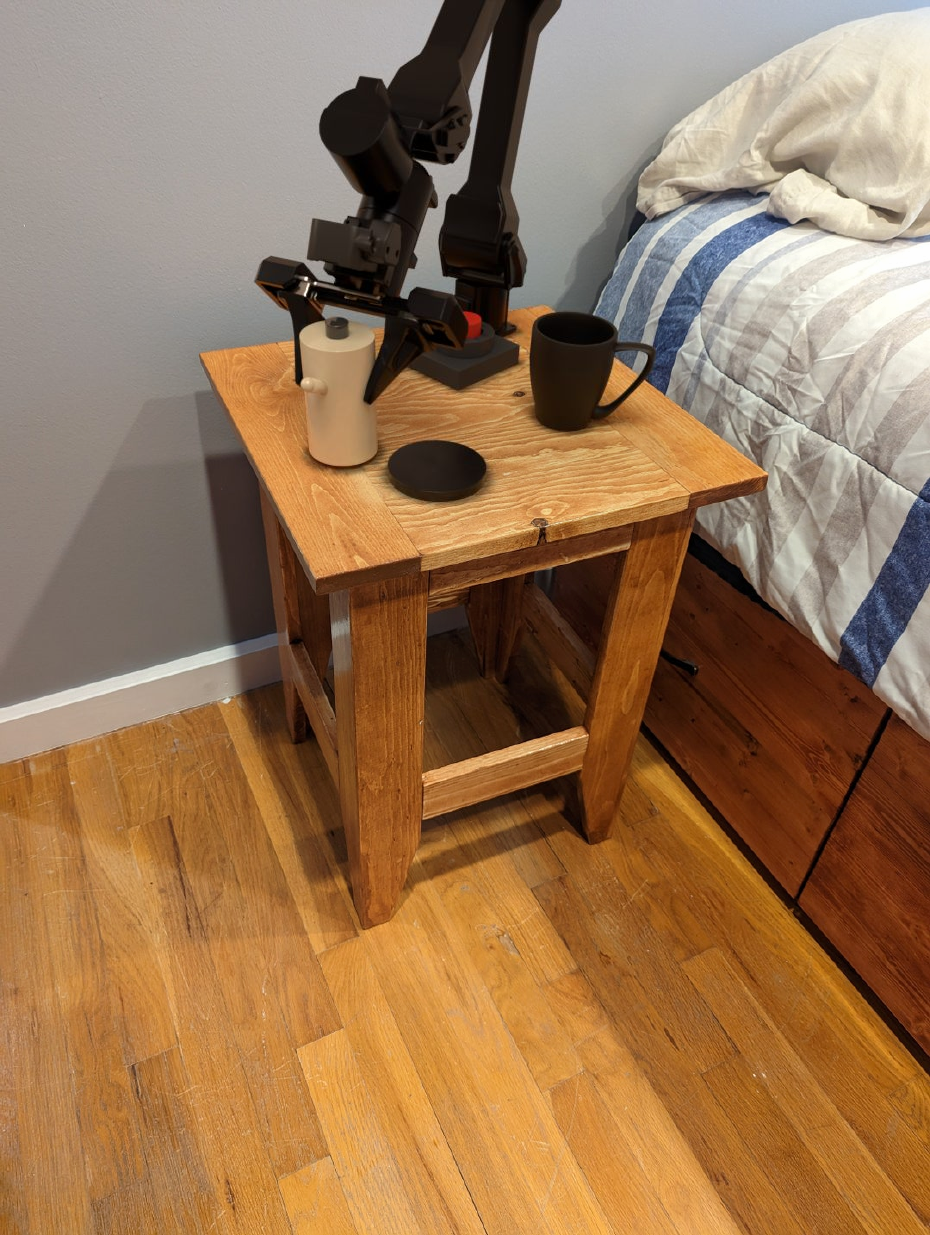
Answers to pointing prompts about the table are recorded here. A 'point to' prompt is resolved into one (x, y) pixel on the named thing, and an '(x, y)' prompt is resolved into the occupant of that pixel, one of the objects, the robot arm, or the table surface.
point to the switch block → (469, 359)
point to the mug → (576, 368)
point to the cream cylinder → (339, 391)
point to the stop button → (473, 324)
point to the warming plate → (437, 470)
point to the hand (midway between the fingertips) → (332, 394)
